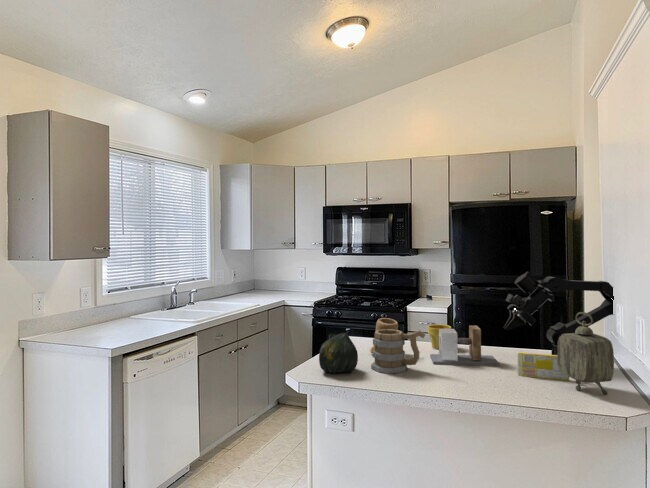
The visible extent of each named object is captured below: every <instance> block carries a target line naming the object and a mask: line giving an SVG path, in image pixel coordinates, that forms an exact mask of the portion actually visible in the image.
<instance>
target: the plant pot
mask: <svg viewBox="0 0 650 488" xmlns="http://www.w3.org/2000/svg"><path fill="white" fill-rule="evenodd" d="M439 329H452V326H450V325H447V324H429V325H427V334H428V335H429V338H430V342H431V348H432V349H434V350H439Z"/></svg>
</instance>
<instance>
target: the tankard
mask: <svg viewBox="0 0 650 488" xmlns="http://www.w3.org/2000/svg"><path fill="white" fill-rule="evenodd" d="M425 336H426V333H424V332H423V331H421V330H417V331H415V332H412V333H404V331H402V330H399V329H398V330H392V329H387V330H386V329H383V330H377V331H376V330H375V332H374V337H373V338H372V345H373V346H374V345H375V350H374V351H373V353H372V358H373V359H374V361H373V362H372V363H371V364H370V368H371V370H374V371H376V372H377V373H383V374H396V373H397V374H398V373H404V372H405V371H406V369H407V368H408V366H415V365H416V364H417V363H418V362H419V359H420V353H421V352H420V350H419V347H418V343H417V338H418V337H420V338H422V339H424V338H425ZM408 339H409V341H410V347H411V350H412V353H413V358H411V359H409V358H405V357H406V351H405V350H404V345H405V343H406V341H405V340H408Z"/></svg>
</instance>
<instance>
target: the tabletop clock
mask: <svg viewBox="0 0 650 488" xmlns="http://www.w3.org/2000/svg"><path fill="white" fill-rule="evenodd" d="M584 314H585V315H587V316H589V317H590V319H591V323H590V324H586V321H582V323H581V322H579V321H578V320H577V318H578V316H579V315H584ZM575 319H576V321H577V322H578V323H579V324H581V325H582V326H580V327H578V328H577V329H576V330H575V333H568V334H562V335H561V336H560V337H559V339H558V347H557V358H558V368H559V371H560V372H561V373H563V374H565V375H567V376H569V378H570V379H572V380H575V381H574V383H576V384H577V385H576V386H575V390H576V391H578V392H579V391H581V390H582V387H581V384H582V383H585V384H593V383H594V384H596V385H597V386H598V387H599V388H600V390H601V394H602V395H604V396H605V395H608V390H607V389H605V388H603V386H602V384H601V383H606V382H611V381H612V379H613V377H614V371H615V370H614V369H615V356H614V347H613V343H612V341H611V340H610V339H609V338H607V337H606V336H602V335H601V334H597V333H594V331H593V329H592V328H591V327H590V326H592V325H593V324H592V323H593V319H592V317H591V315H589V314H588V312H584V311H579V312H577V313H576V314H575ZM591 324H592V325H591ZM586 326H588V327H586Z"/></svg>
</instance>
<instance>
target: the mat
mask: <svg viewBox="0 0 650 488" xmlns="http://www.w3.org/2000/svg"><path fill="white" fill-rule="evenodd" d="M429 355H430V356H429V357H430V360H431V361H432V364H433V365H447V366H449V365H450V366H451V365H453V366H454V365H455V366H484V367H486V366H488V367H500V365H501V364H500V362H499V361H498V360H497V359H496V357H495V356H493V355H491V354H490V355H482V354H481V361H480V360H473V359H472V358H471V357H470V355H469V354H458V361H442V360H441V358H440V356H439V353H430V354H429Z"/></svg>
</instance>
